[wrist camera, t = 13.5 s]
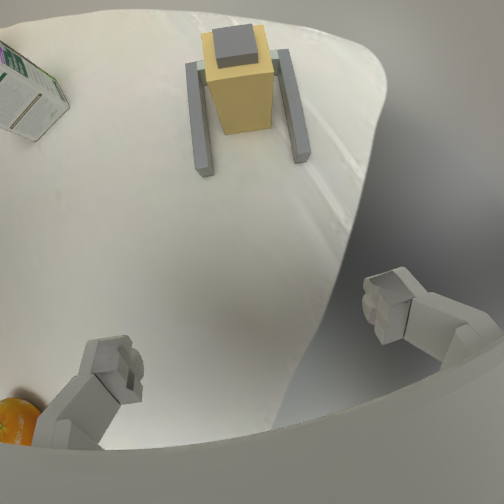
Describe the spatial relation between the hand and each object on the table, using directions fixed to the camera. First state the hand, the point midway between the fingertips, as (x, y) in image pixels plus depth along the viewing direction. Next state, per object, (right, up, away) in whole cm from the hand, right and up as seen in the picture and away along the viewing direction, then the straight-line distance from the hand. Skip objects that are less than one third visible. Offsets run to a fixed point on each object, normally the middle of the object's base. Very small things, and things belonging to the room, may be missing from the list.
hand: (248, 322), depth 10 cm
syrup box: (-23, +18, +17) cm, 34 cm away
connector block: (-1, +15, +16) cm, 22 cm away
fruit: (-27, -19, +18) cm, 38 cm away
